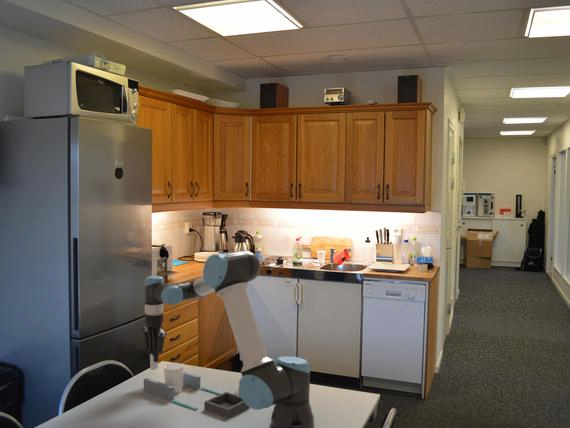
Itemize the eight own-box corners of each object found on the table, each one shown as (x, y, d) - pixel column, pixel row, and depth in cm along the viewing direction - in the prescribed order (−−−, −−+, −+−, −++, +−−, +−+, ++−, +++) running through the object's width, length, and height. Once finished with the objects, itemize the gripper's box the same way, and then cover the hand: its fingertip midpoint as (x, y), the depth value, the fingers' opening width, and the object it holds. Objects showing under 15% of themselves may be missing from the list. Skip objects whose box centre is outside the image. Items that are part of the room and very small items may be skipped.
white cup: (162, 388, 217) (162, 364, 216) (181, 385, 220) (181, 361, 219) (166, 395, 210) (166, 370, 209) (185, 392, 213) (186, 367, 212)
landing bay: (226, 396, 209) (226, 394, 209) (195, 410, 196) (195, 408, 196) (203, 388, 217) (203, 387, 217) (171, 401, 203) (171, 400, 203)
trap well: (249, 406, 199) (249, 399, 199) (228, 417, 189) (228, 409, 189) (226, 399, 206) (226, 391, 206) (204, 409, 196) (204, 401, 196)
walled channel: (200, 388, 217) (200, 376, 217) (170, 400, 204) (170, 388, 204) (173, 379, 226) (173, 368, 226) (143, 391, 213) (143, 378, 213)
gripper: (171, 314, 220) (171, 369, 221) (150, 309, 227) (150, 363, 228) (157, 317, 213) (157, 374, 215) (136, 312, 221) (136, 367, 222)
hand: (153, 368), depth 222 cm, fingers closed
